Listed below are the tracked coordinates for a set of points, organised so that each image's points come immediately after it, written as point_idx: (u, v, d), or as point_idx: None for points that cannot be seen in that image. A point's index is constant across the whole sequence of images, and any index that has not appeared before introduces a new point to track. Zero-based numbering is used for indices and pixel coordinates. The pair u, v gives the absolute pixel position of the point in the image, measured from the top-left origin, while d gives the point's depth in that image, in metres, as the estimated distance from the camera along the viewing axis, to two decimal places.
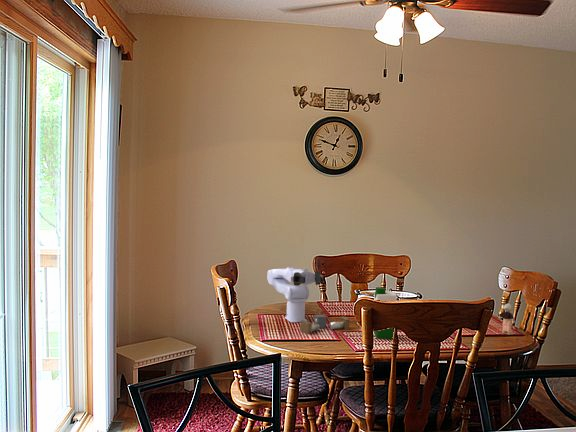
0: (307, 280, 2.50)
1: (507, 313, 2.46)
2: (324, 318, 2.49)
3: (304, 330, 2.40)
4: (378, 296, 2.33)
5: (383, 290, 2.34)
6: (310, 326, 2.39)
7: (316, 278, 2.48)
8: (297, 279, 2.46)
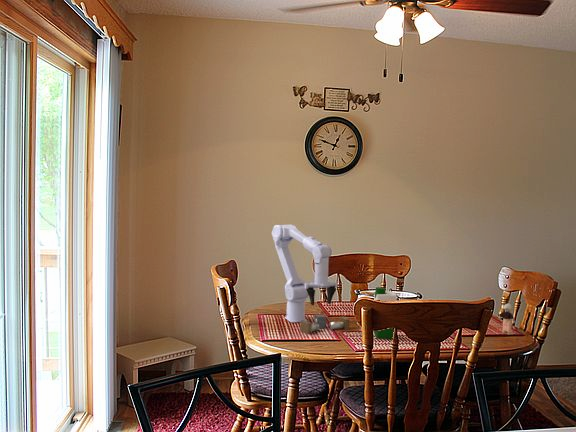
0: None
1: (507, 313, 2.46)
2: (324, 318, 2.49)
3: (304, 330, 2.40)
4: (378, 296, 2.33)
5: (383, 290, 2.34)
6: (310, 326, 2.39)
7: (328, 291, 2.51)
8: None
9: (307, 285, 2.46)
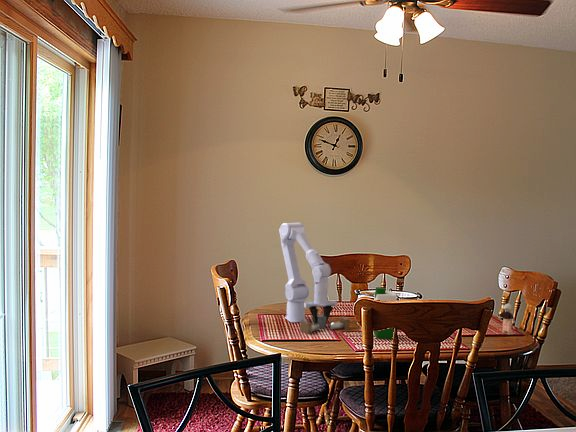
0: None
1: (507, 313, 2.46)
2: (324, 318, 2.49)
3: (304, 330, 2.40)
4: (378, 296, 2.33)
5: (383, 290, 2.34)
6: (310, 326, 2.39)
7: (325, 310, 2.51)
8: None
9: (307, 304, 2.47)
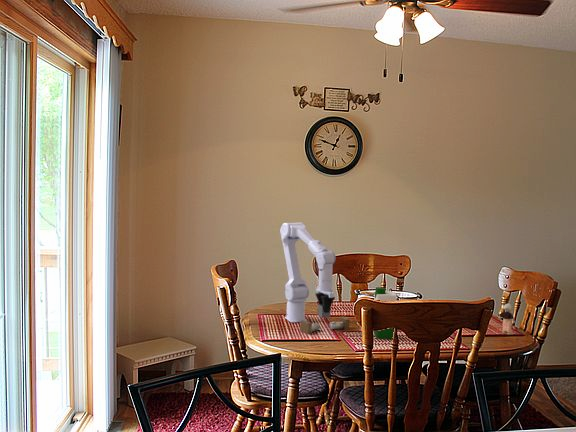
0: None
1: (507, 313, 2.46)
2: (321, 307, 2.44)
3: (304, 330, 2.40)
4: (378, 296, 2.33)
5: (383, 290, 2.34)
6: (310, 326, 2.39)
7: None
8: None
9: (317, 288, 2.51)
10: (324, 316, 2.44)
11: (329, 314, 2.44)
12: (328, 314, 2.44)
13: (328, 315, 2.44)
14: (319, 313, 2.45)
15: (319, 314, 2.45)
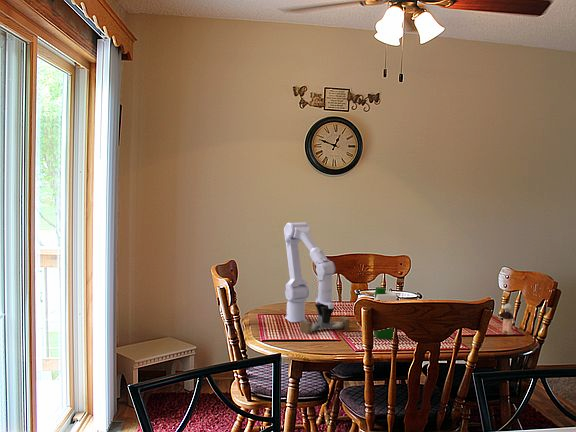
0: None
1: (507, 313, 2.46)
2: (321, 318, 2.44)
3: (304, 330, 2.40)
4: (378, 296, 2.33)
5: (383, 290, 2.34)
6: (310, 326, 2.39)
7: None
8: None
9: (316, 298, 2.51)
10: (324, 327, 2.44)
11: (329, 325, 2.45)
12: (328, 325, 2.44)
13: (328, 326, 2.44)
14: (319, 324, 2.46)
15: None
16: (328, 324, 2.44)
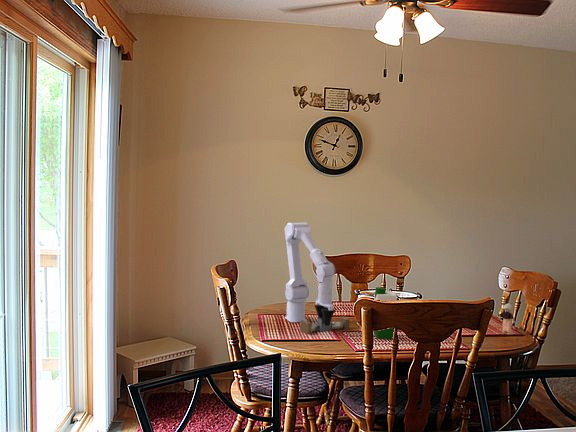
0: None
1: (507, 313, 2.46)
2: (320, 320, 2.44)
3: (304, 330, 2.40)
4: (378, 296, 2.33)
5: (383, 290, 2.34)
6: (310, 326, 2.39)
7: None
8: None
9: (316, 300, 2.51)
10: (324, 330, 2.44)
11: (329, 328, 2.45)
12: (328, 328, 2.44)
13: (328, 329, 2.44)
14: None
15: None
16: (328, 327, 2.44)
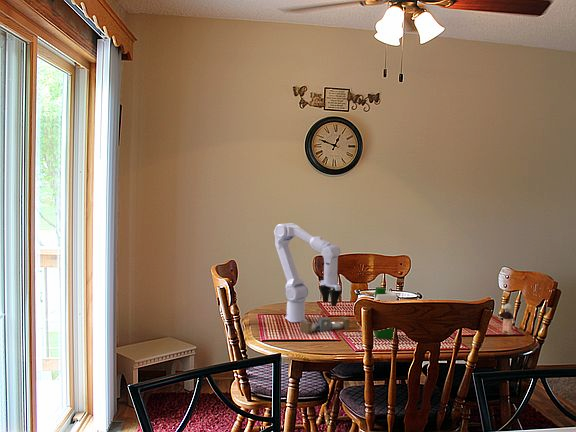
0: None
1: (507, 313, 2.46)
2: (320, 320, 2.44)
3: (304, 330, 2.40)
4: (378, 296, 2.33)
5: (383, 290, 2.34)
6: (310, 326, 2.39)
7: None
8: None
9: (321, 281, 2.56)
10: (324, 330, 2.44)
11: (329, 328, 2.45)
12: (328, 328, 2.44)
13: (328, 329, 2.44)
14: None
15: None
16: (328, 327, 2.44)
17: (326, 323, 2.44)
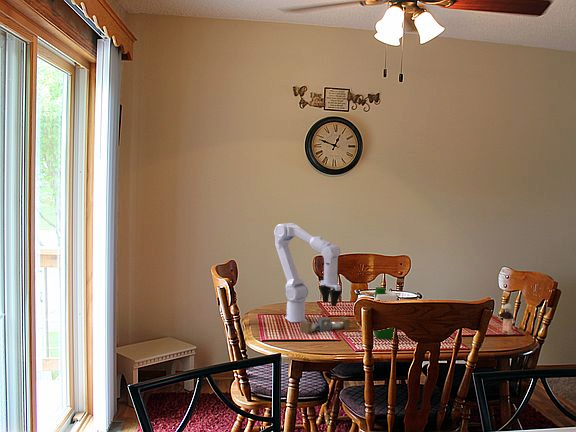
0: None
1: (507, 313, 2.46)
2: (320, 320, 2.44)
3: (304, 330, 2.40)
4: (378, 296, 2.33)
5: (383, 290, 2.34)
6: (310, 326, 2.39)
7: None
8: None
9: (321, 281, 2.56)
10: (324, 330, 2.44)
11: (329, 328, 2.45)
12: (328, 328, 2.44)
13: (328, 329, 2.44)
14: None
15: None
16: (328, 327, 2.44)
17: (326, 323, 2.44)
